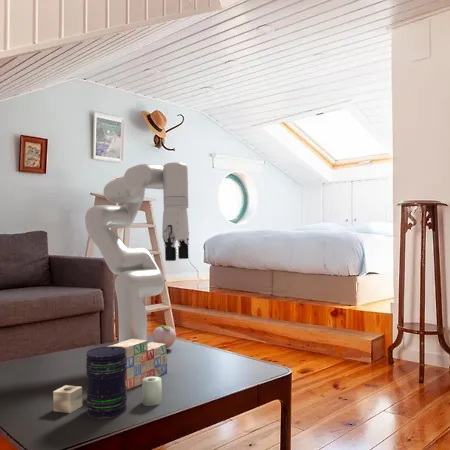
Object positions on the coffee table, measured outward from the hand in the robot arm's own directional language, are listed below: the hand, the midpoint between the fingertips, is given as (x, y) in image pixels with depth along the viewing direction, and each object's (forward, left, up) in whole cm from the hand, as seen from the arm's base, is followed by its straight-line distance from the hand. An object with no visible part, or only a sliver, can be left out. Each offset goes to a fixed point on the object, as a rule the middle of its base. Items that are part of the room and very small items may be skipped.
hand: (177, 259), depth 142 cm
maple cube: (-10, -33, -36) cm, 50 cm away
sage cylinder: (+6, -19, -36) cm, 41 cm away
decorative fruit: (-27, +25, -36) cm, 52 cm away
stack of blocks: (-10, -8, -37) cm, 39 cm away
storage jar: (0, -29, -36) cm, 46 cm away
